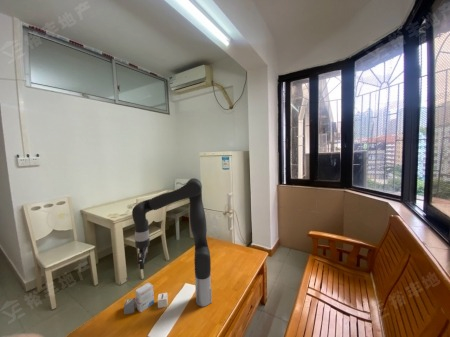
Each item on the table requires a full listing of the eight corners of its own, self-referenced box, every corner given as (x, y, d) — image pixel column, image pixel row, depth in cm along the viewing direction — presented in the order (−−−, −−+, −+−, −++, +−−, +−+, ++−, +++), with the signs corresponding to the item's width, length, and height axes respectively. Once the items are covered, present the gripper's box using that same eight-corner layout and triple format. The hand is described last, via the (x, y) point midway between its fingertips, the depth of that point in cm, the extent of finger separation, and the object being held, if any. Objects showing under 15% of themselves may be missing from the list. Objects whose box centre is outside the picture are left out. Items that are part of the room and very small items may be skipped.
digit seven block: (136, 305, 112) (135, 297, 111) (133, 312, 107) (133, 304, 106) (126, 307, 110) (126, 299, 110) (124, 314, 106) (123, 306, 105)
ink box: (150, 299, 116) (148, 281, 115) (154, 303, 113) (153, 285, 112) (136, 308, 110) (134, 289, 108) (140, 313, 106) (139, 294, 105)
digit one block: (167, 299, 115) (167, 292, 115) (166, 306, 110) (166, 298, 110) (159, 301, 114) (158, 293, 114) (158, 308, 109) (157, 300, 109)
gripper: (147, 243, 100) (148, 271, 102) (151, 231, 114) (152, 256, 116) (131, 244, 98) (133, 273, 100) (138, 232, 112) (139, 257, 114)
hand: (143, 264), depth 108 cm, fingers open, 8 cm apart
